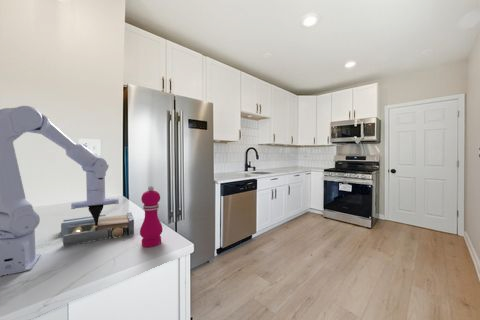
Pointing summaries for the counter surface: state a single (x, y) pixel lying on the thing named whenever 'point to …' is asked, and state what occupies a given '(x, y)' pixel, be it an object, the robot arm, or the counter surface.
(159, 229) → the pepper mill
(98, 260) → the counter surface
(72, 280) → the counter surface
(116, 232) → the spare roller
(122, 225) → the slab
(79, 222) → the roller stand
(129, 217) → the stop rail
